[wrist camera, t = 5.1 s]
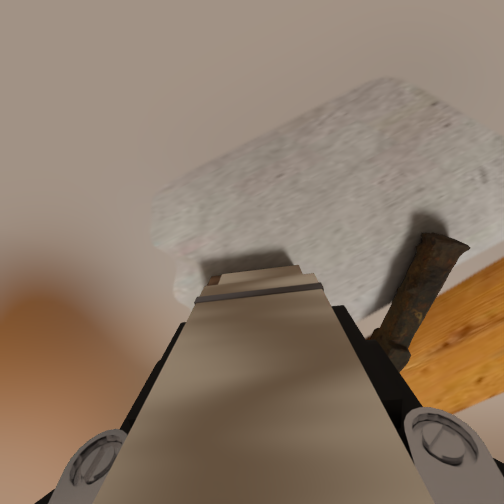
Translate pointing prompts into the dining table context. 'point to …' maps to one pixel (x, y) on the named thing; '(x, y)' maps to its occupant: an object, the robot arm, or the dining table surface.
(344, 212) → the dining table surface
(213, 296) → the peg
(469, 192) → the dining table surface
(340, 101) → the dining table surface
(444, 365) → the dining table surface
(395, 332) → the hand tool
